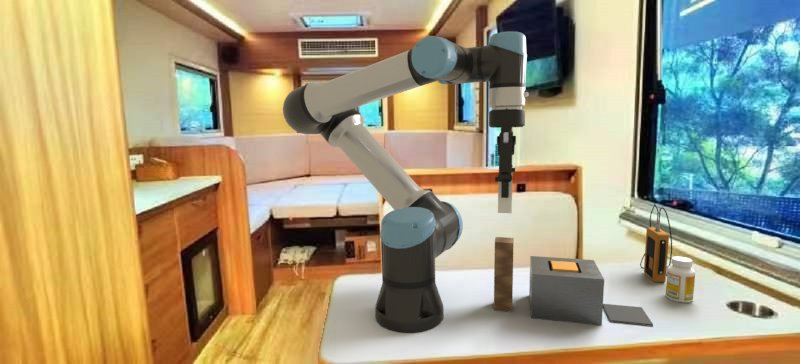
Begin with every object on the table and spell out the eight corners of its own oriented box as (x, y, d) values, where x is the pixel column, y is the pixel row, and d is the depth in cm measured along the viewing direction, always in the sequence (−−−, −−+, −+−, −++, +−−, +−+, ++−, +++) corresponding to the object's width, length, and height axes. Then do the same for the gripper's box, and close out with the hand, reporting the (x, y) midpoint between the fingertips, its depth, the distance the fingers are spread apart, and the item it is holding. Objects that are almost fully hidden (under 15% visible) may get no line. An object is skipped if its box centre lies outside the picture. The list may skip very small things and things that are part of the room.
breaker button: (551, 296, 90) (552, 268, 89) (550, 287, 95) (550, 260, 94) (577, 298, 89) (578, 270, 88) (574, 289, 94) (575, 262, 93)
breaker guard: (531, 317, 89) (532, 273, 87) (529, 295, 100) (530, 255, 99) (601, 325, 85) (604, 279, 84) (591, 300, 97) (593, 260, 95)
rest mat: (610, 321, 86) (610, 319, 86) (602, 305, 94) (602, 303, 94) (652, 326, 84) (653, 324, 84) (641, 308, 92) (641, 307, 92)
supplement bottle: (690, 295, 98) (693, 256, 97) (695, 304, 93) (698, 264, 92) (663, 292, 100) (666, 254, 99) (667, 301, 96) (670, 261, 94)
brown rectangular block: (493, 310, 93) (494, 241, 91) (494, 302, 97) (495, 237, 94) (512, 311, 92) (513, 243, 89) (512, 304, 96) (513, 237, 93)
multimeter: (704, 291, 101) (711, 211, 98) (659, 288, 103) (665, 210, 100) (677, 269, 115) (682, 199, 112) (638, 268, 117) (642, 199, 114)
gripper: (526, 106, 75) (524, 219, 78) (524, 109, 98) (522, 196, 102) (485, 107, 77) (484, 218, 80) (492, 110, 100) (491, 195, 104)
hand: (505, 206), depth 91 cm, fingers open, 13 cm apart
